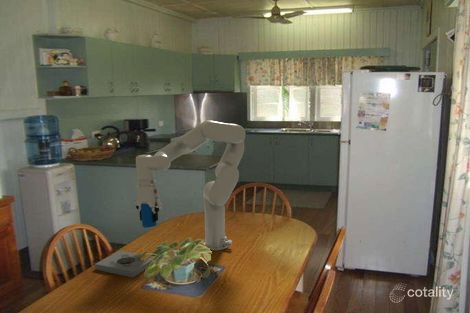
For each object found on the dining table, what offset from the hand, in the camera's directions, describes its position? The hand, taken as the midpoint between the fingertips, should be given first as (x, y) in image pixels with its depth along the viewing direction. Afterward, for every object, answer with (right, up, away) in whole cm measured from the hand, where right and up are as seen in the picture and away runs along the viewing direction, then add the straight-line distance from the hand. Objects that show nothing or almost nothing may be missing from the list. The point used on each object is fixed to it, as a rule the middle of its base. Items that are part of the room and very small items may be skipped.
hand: (149, 220), depth 193 cm
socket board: (-7, -18, -12) cm, 23 cm away
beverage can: (0, -3, +1) cm, 3 cm away
